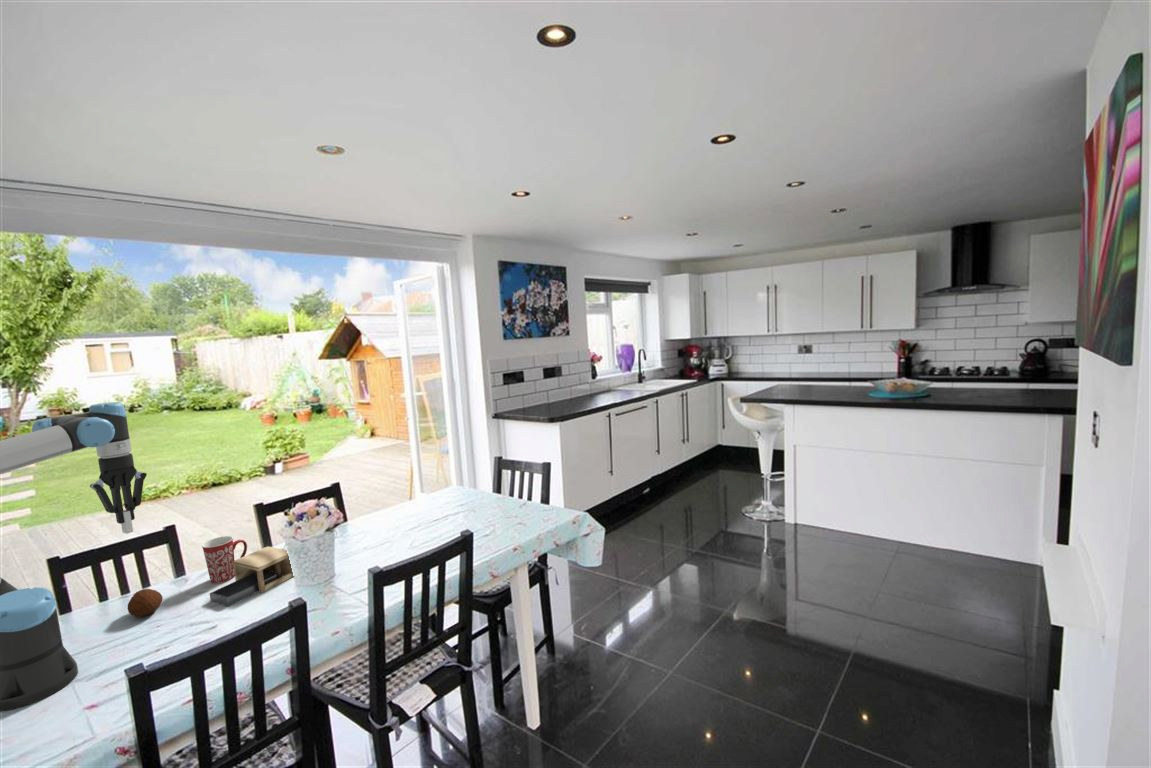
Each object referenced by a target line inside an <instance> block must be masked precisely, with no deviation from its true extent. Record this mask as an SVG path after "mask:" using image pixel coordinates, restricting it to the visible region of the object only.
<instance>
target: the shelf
mask: <svg viewBox="0 0 1151 768" xmlns="http://www.w3.org/2000/svg"><path fill="white" fill-rule="evenodd" d="M287 551H288V550H286V549H283V548H282V549H281V548H277V547H274V546H273V547H272V546H270V545H268V546H264V547H263V548H259V549H258V550H256V551H253V552H251V553H249V554H245V556H244V557H242V558H240V557H239V558H237V559H234V560H235V561H233V566H234V573H235V577H234V578H235V581H237V580H239V579H242V578H244V577H246V576H248V575H250V574H252V573H254V572H257V578H258V586H259V594H263V593H265V592H266V591H267V590H270V589H271V588H274V587H276V586H277V585H280V584H281V583H283V582H285V581H287V580H289V579H291V578H294V577H293V572H292V568H291V564H290V560H289V556H288V553H287ZM263 571H265V572H269V573H272V574H276V575H277V579H276V580H274V581H272V582H270V583H268V584H266V585H264V577H263Z"/></svg>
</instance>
